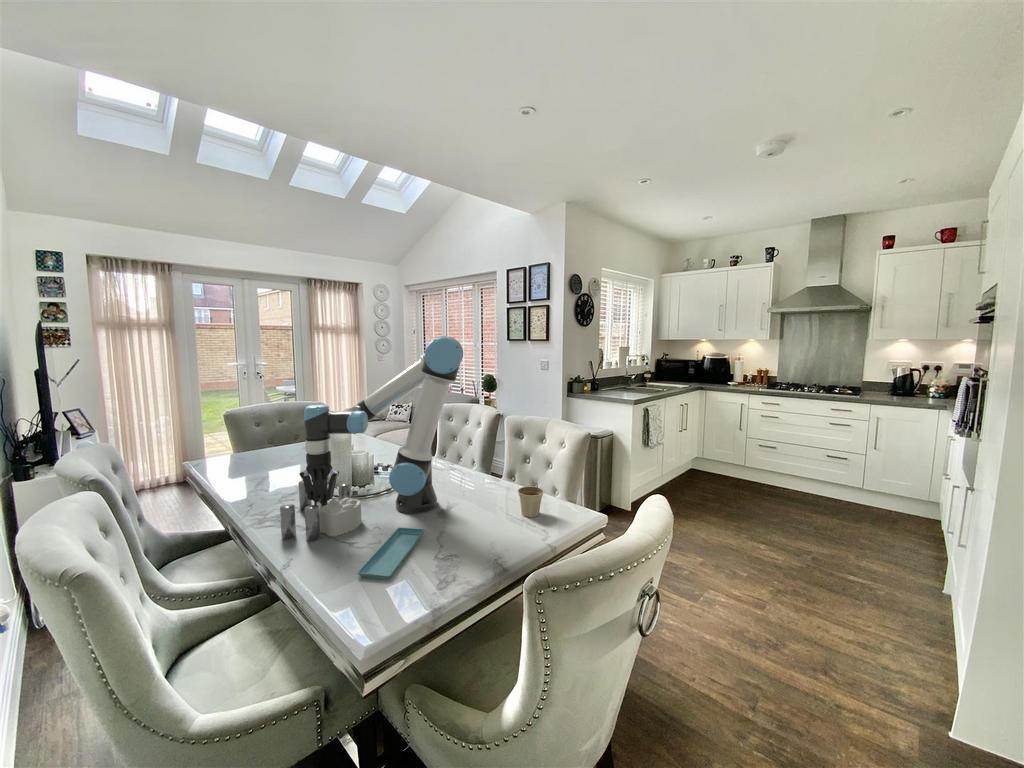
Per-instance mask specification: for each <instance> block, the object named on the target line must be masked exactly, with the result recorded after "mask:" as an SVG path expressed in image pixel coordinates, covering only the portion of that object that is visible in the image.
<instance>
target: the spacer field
mask: <svg viewBox="0 0 1024 768" xmlns="http://www.w3.org/2000/svg"><path fill="white" fill-rule="evenodd" d="M351 488H352V486H351V482H342V483H339V484H338V500H343V499H344V498H351V499H352V492H351V491H352V489H351ZM298 498H299V499H298V501H299V510H300V509H301V510H300V511H304V522H305V540H306V541H307V542H315V540H316V541H318V540H320V539H321V532H320V518H319V506H318V505H314V504H312V503H313V500H309V499H308V496H307V493H306V489H305V486H304V482H303V480H300V481H298ZM320 500H321V499H320ZM328 501H329V500H328ZM328 501H327V504H329V502H328ZM295 507H296V506H295V504H294V503H288V504H283V505H281V506H280V507H279V511H280V513H279V515H280V530H281V531H280V533H281V534H280V535H281V540H282V539H283V540H282V541H290V540H289V539H291V540H293V538H294V537H295V538H296V537H297V530H296V529H297V526H296V510H295V509H296V508H295ZM295 538H294V539H295ZM319 538H320V539H319ZM317 539H318V540H317Z"/></svg>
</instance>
